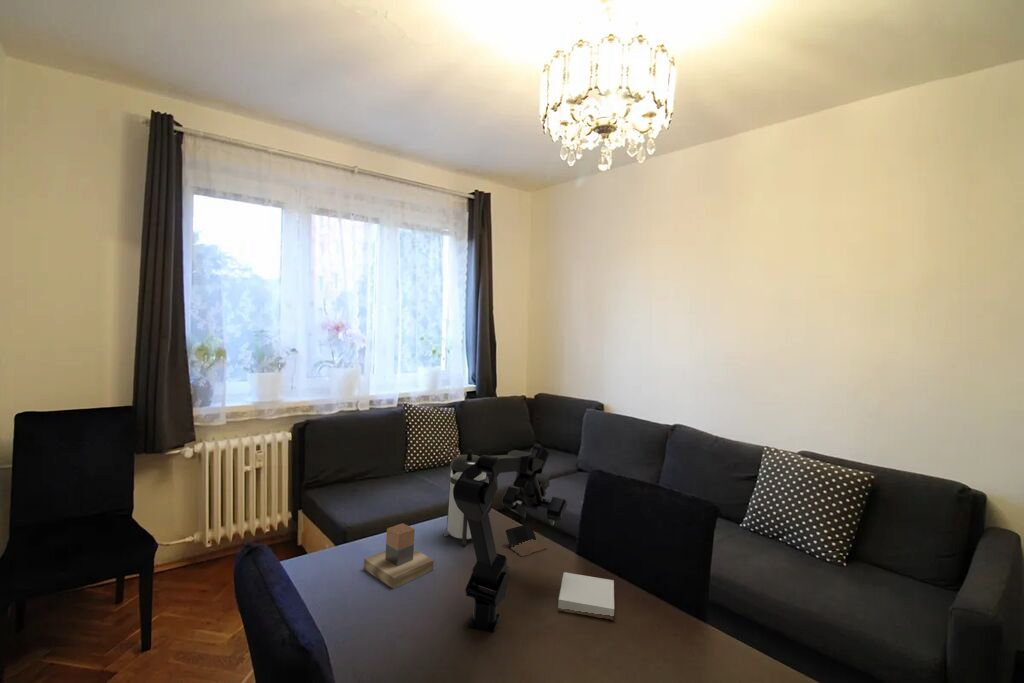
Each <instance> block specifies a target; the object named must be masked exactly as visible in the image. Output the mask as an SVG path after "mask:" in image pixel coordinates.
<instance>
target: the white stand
mask: <svg viewBox="0 0 1024 683" xmlns="http://www.w3.org/2000/svg"><path fill="white" fill-rule="evenodd" d="M614 581H615V580H614V579H609V578H602V577H594V576H589V575H583V574H578V573H571V572H565V571H564V572H563V575H562V579H561V585H560V586H561V587H560V590H559V595H558V605H557V609H558V608H561V609H570V610H574V611H581V612H588V613H594V614H602V615H610V616H614V617H615V588H614V587H615V582H614Z"/></svg>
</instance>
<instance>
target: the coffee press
mask: <svg viewBox="0 0 1024 683" xmlns="http://www.w3.org/2000/svg"><path fill="white" fill-rule="evenodd" d="M465 453H466V454H460V455H458V456H455V457H454V458H453V459H452V460H451V461H450V464H449V468H450V475H449V484H448V493H449V494H448V502H447V510H448V511H447V517H446V518H447V520H446V528H445V529H444V530H443V532H442V536H443V537H444V534H445V533H446V531H447V535H446V534H445V535H446V537H448V536H449V535H450V536H452V537H454V538H457V539H460V540H461V546H462V545H465V546H464V547H466V546H467V540H470V539H471V540H472V537H471V533H470V529H469V524H468V520H467V517H466V516H465V515H464V514H463V513H462V512H461V511H460V510H459V509H458V507H457V505H456V502H455V500H454V497H453V488H454V485H455V483H456V482H457V480H458V479H459V477H460V476H461V474H462V473H463V471H464V470H466V469H467V468H469V467H470V466H472V465H474V464H475V463H476V462H477V460H478V459H479V457H480V456H481V455H480V456H479V455H477V454H476V455H475V454H474V451H473V450H472V449H470V448H469V449H467V450H466V452H465ZM487 479H488V483H490V481H491V479H492V474H489V473H485V472H482V473H481V474H480V475H479V476H477V477H476V478H474V480H478V481H482V482H486V483H487ZM492 500H493V501H492V503H491V505H490V507H489V508H488V514H490V512H491V510H492V507H493V505H494V504H493V503H494V497H493V498H492Z"/></svg>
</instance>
